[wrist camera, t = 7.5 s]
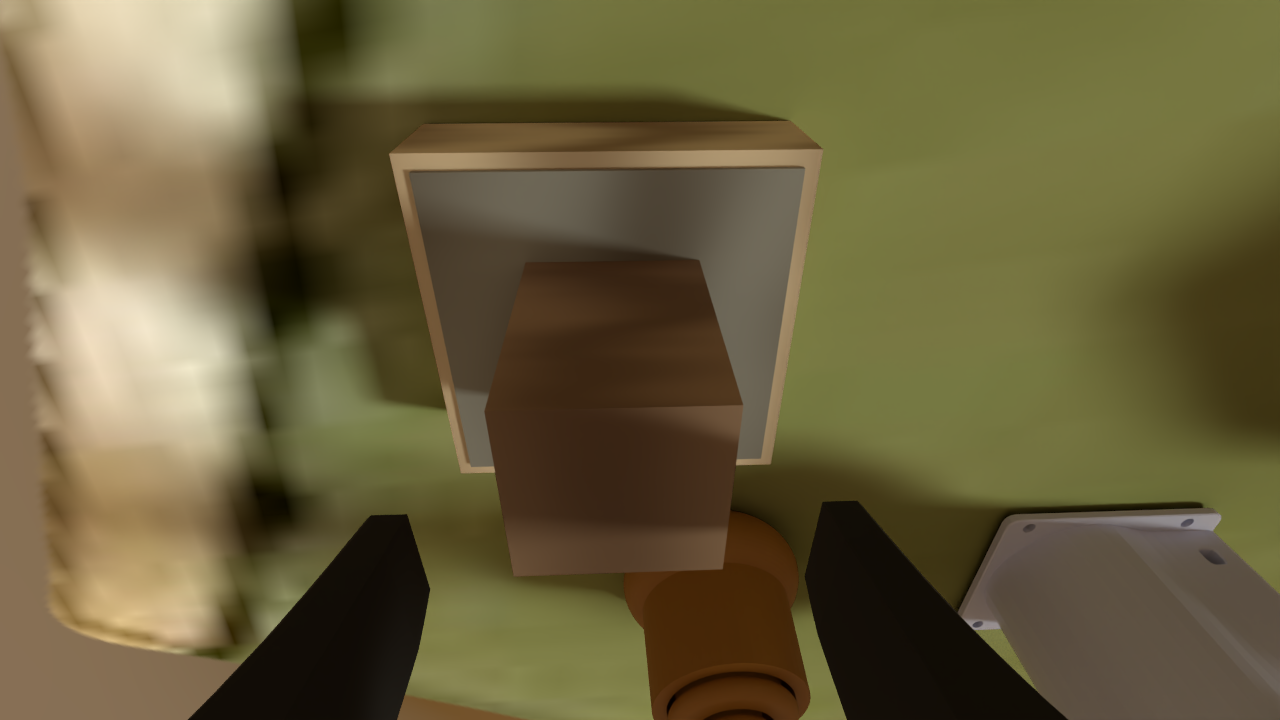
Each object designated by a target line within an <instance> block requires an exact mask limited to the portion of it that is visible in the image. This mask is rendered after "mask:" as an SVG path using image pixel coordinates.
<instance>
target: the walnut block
mask: <svg viewBox="0 0 1280 720" xmlns="http://www.w3.org/2000/svg"><path fill="white" fill-rule="evenodd" d="M484 413H485V418H486V424H487V430H488V435H489V441H490V446H491V452H492V458H493V463H494V469H495V474H496V480H497V486H498V491H499V497H500V502H501V508H502V514H503V519H504V525H505V530H506V536H507V542H508V547H509V553H510V558H511V564H512V570H513V575H514V576H541V575H570V574H600V573H629V572H658V571H687V570H717V569H723V563H724V555H725V547H726V539H727V531H728V523H729V515H730V508H731V500H732V492H733V484H734V476H735V468H736V460H737V452H738V444H739V436H740V428H741V421H742V413H743V402H742V399H741V396H740V392H739V389H738V386H737V382H736V379H735V376H734V373H733V369H732V366H731V363H730V359H729V356H728V353H727V349H726V346H725V343H724V340H723V336H722V333H721V330H720V326H719V323H718V320H717V317H716V313H715V310H714V307H713V303H712V300H711V297H710V293H709V290H708V287H707V284H706V280H705V277H704V274H703V270H702V267H701V264H700V261H699V260H665V261H595V262H525V266H524V270H523V273H522V277H521V281H520V284H519V288H518V291H517V295H516V299H515V302H514V306H513V309H512V313H511V317H510V320H509V324H508V327H507V331H506V335H505V338H504V342H503V345H502V349H501V353H500V356H499V360H498V364H497V367H496V371H495V374H494V378H493V382H492V385H491V389H490V392H489V396H488V400H487V403H486V407H485V410H484Z"/></svg>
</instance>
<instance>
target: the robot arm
mask: <svg viewBox="0 0 1280 720" xmlns="http://www.w3.org/2000/svg"><path fill="white" fill-rule="evenodd" d="M1220 520H1221V515H1220V514H1219V513H1218V512H1216V511H1215V510H1214V509H1213V508H1191V509H1161V510H1131V511H1101V512H1070V513H1040V514H1015V515H1011V516H1008V517H1007V518H1005V519H1004V520H1003V522H1002V524H1001V526H1000V528H999V530H998V532H997V534H996V536H995V538H994V540H993V542H992V544H991V546H990V548H989V550H988V552H987V554H986V556H985V558H984V560H983V562H982V564H981V566H980V568H979V570H978V572H977V574H976V576H975V578H974V580H973V582H972V584H971V586H970V588H969V590H968V592H967V594H966V596H965V598H964V600H963V602H962V605H961V607H960V609H959V611H958V613H957V612H956V611H955V610H954V609H953V608H952V607H951V605H950V604H949V603H948V602H947V601H946V600H945V599H944V598H943V597H942V596H941V595H940V594H939V593H938V592H937V591H936V589H935V588H934V587H933V586H932V585H931V584H930V583H929V582H928V581H927V580H926V579H925V577H924V576H923V575H922V574H921V573H920V572H919V571H918V570H917V569H916V567H915V566H914V565H913V564H912V563H911V562H910V561H909V559H908V558H907V557H906V556H905V555H904V554H903V553H902V551H901V550H900V549H899V548H898V547H897V546H896V545H895V543H894V542H893V541H892V540H891V539H890V538H889V537H888V535H887V534H886V533H885V532H884V531H883V530H882V528H881V527H880V526H879V525H878V524H877V523H876V521H875V520H874V519H873V518H872V517H871V516H870V514H869V513H868V512H867V511H866V510H865V509H864V507H863V506H862V505H861V504H860V503H859V502H858V501H834V502H823V503H822V507H821V511H820V515H819V519H818V523H817V528H816V532H815V536H814V540H813V544H812V548H811V552H810V556H809V561H808V565H807V569H806V573H805V580H806V584H807V589H808V594H809V599H810V603H811V608H812V612H813V616H814V621H815V625H816V629H817V633H818V637H819V640H820V643H821V646H822V649H823V652H824V655H825V657H826V660H827V663H828V666H829V669H830V672H831V675H832V678H833V681H834V684H835V687H836V690H837V692H838V695H839V698H840V701H841V704H842V707H843V710H844V713H845V715H846V718H847V720H1280V594H1279V593H1278V592H1277V591H1276V590H1275V589H1274V588H1273V587H1271V586H1270V585H1269V584H1268V583H1267V582H1266V581H1265V580H1264V579H1263V578H1262V577H1261V576H1260V575H1259V574H1258V573H1257V572H1256V571H1255V570H1253V569H1252V568H1251V567H1250V566H1249V565H1248V564H1247V563H1246V562H1245V561H1244V560H1243V559H1242V558H1241V557H1240V556H1239V555H1238V554H1236V553H1235V552H1234V551H1233V550H1232V549H1231V548H1230V547H1229V546H1228V545H1227V544H1226V543H1225V542H1224V541H1223V540H1222V539H1221V538H1219V537H1218V536H1217V535H1216V534H1215V533H1214V532H1213V530H1214V528H1215V527H1216V526H1217V525H1218V523H1219V522H1220ZM429 593H430V587H429V584H428V581H427V577H426V574H425V571H424V568H423V565H422V561H421V558H420V555H419V552H418V548H417V545H416V542H415V539H414V535H413V532H412V529H411V526H410V523H409V519H408V516H407V514H404V515H371V516H370V517H369V518H368V519H367V520H366V521H365V522H364V523H363V525H362V526H361V527H360V528H359V529H358V531H357V532H356V533H355V534H354V535H353V537H352V538H351V539H350V540H349V541H348V543H347V544H346V545H345V546H344V548H343V549H342V550H341V551H340V552H339V554H338V555H337V556H336V557H335V558H334V560H333V561H332V562H331V563H330V564H329V566H328V567H327V568H326V569H325V570H324V572H323V573H322V574H321V575H320V576H319V578H318V579H317V580H316V581H315V582H314V584H313V585H312V586H311V587H310V588H309V589H308V591H307V592H306V593H305V594H304V595H303V596H302V598H301V599H300V600H299V601H298V602H297V603H296V604H295V606H294V607H293V608H292V609H291V610H290V611H289V612H288V614H287V615H286V616H285V617H284V618H283V619H282V620H281V622H280V623H279V624H278V625H277V626H276V627H275V628H274V630H273V631H272V632H271V633H270V634H269V635H268V636H267V637H266V639H265V640H264V641H263V642H262V643H261V644H260V645H259V646H258V647H257V648H256V649H255V650H254V652H253V653H252V654H251V655H250V656H249V657H248V658H247V659H246V660H245V661H244V662H243V663H242V664H241V665H240V666H239V667H238V669H237V670H236V671H235V672H234V673H233V674H232V675H231V676H230V677H229V678H228V679H227V680H226V681H225V682H224V684H222V686H221V687H220V688H219V689H218V690H217V691H216V692H215V693H214V694H213V695H212V696H211V697H210V698H209V699H208V700H207V701H206V702H205V703H204V704H203V705H202V706H201V707H200V708H199V709H198V710H197V711H196V712H195V713H194V714H193V715H192V716H191V717H190V718H189V719H188V720H397V718H398V714H399V711H400V708H401V705H402V702H403V699H404V695H405V692H406V689H407V686H408V683H409V679H410V676H411V673H412V670H413V666H414V663H415V660H416V656H417V653H418V650H419V645H420V640H421V635H422V630H423V625H424V620H425V615H426V609H427V604H428V598H429ZM984 629H1001V630H1002V631H1003V633H1004V635H1005V636H1006V638H1007V640H1008V641H1009V643H1010V645H1011V647H1012V648H1013V650H1014V652H1015V653H1016V655H1017V657H1018V658H1019V660H1020V662H1021V664H1022V665H1023V667H1024V669H1025V670H1026V672H1027V674H1028V675H1029V677H1030V679H1031V681H1032V682H1033V684H1034V686H1035V687H1036V689H1037V691H1038V692H1039V693H1038V692H1037V691H1036V690H1035V689H1034V688H1033V687H1032V686H1031V685H1030V684H1028V683H1027V682H1026V681H1025V680H1024V679H1023V678H1022V677H1021V676H1020V675H1019V674H1018V673H1017V672H1016V671H1015V670H1014V669H1013V668H1012V667H1011V666H1010V665H1009V664H1007V663H1006V662H1005V661H1004V660H1003V659H1002V658H1001V657H1000V656H999V655H998V654H997V653H996V652H995V651H994V650H993V649H992V648H991V647H990V646H989V645H988V644H987V643H986V642H985V641H984V640H983V639H982V638H981V637H980V636H979V635H978V634H977V633H976V632H975V631H974V630H984Z"/></svg>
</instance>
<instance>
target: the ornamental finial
mask: <svg viewBox="0 0 1280 720" xmlns="http://www.w3.org/2000/svg"><path fill="white" fill-rule="evenodd" d="M798 583H799V574H798V567H797V562H796V559H795V556H794V554H793V552H792V550H791V548H790V546H789V545H788V543H787V542H786V541H785V539H784V538H783V537H782V536H781V535H780V534H779V533H778V532H777V531H776V530H775V529H774V528H773V527H771V526H770V525H768V524H767V523H765V522H764V521H762V520H760V519H758V518H756V517H753V516H751V515H748V514H745V513H741V512H737V511H731V510H730V515H729V523H728V531H727V539H726V547H725V555H724V563H723V569H717V570H687V571H658V572H629V573H625V574H624V593H625V598H626V602H627V605H628V607H629V610H630V611H631V613H632V615H633V617H634V618H635V620H636V621H637V622H638V623H639V625H640V626H641V627H642V628H643V629H644V634H645V644H646V655H647V665H648V676H649V686H650V696H651V707H652V715H653V719H654V720H798V719H799V718H800V717H801V716H802V715H803V714H804V713H805V711H806V710H807V708H808V706H809V703H810V690H809V686H808V682H807V678H806V673H805V669H804V665H803V661H802V656H801V652H800V648H799V644H798V639H797V635H796V631H795V626H794V622H793V618H792V614H791V607H792V605H793V603H794V601H795V598H796V594H797V590H798Z"/></svg>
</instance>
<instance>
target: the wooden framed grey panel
mask: <svg viewBox="0 0 1280 720" xmlns="http://www.w3.org/2000/svg"><path fill="white" fill-rule="evenodd" d="M822 154H823V149H822V148H821V147H820V146H819V145H818V144H817V143H815V142H814V141H813V140H812V139H811V138H810V137H809V136H807V135H806V134H805V133H804V132H803V131H802V130H801V129H799V128H798V127H797V126H796V125H795V124H794V123H793V122H791V121H715V122H591V123H468V124H422V125H421V126H420V127H419V128H418V129H417V130H416V131H414V132H413V133H412V134H411V135H410V136H409V137H407V138H406V139H405V140H404V141H403V142H402V143H401V144H399V145H398V146H397V147H396V148H395V149H394V150H393V151H391V152H390V153H389V155H390V160H391V164H392V169H393V173H394V178H395V182H396V186H397V191H398V195H399V200H400V204H401V209H402V213H403V217H404V222H405V226H406V231H407V235H408V240H409V244H410V249H411V253H412V257H413V262H414V266H415V271H416V275H417V280H418V284H419V288H420V293H421V297H422V302H423V306H424V311H425V315H426V319H427V324H428V328H429V333H430V337H431V342H432V346H433V351H434V355H435V359H436V364H437V368H438V373H439V377H440V382H441V386H442V390H443V395H444V399H445V404H446V408H447V413H448V417H449V421H450V426H451V430H452V435H453V439H454V444H455V448H456V452H457V457H458V461H459V466H460V470H461V473H490V472H495V469H494V463H493V458H492V452H491V446H490V441H489V435H488V430H487V424H486V418H485V413H484V410H485V407H486V403H487V400H488V396H489V392H490V389H491V385H492V382H493V378H494V374H495V371H496V367H497V364H498V360H499V356H500V353H501V349H502V345H503V342H504V338H505V335H506V331H507V327H508V324H509V320H510V317H511V313H512V309H513V306H514V302H515V299H516V295H517V291H518V288H519V284H520V281H521V277H522V273H523V270H524V266H525V262H595V261H665V260H699V261H700V264H701V267H702V270H703V274H704V277H705V280H706V284H707V287H708V290H709V293H710V297H711V300H712V303H713V307H714V310H715V313H716V317H717V320H718V323H719V326H720V330H721V333H722V336H723V340H724V343H725V346H726V349H727V353H728V356H729V359H730V363H731V366H732V369H733V373H734V376H735V379H736V382H737V386H738V389H739V392H740V396H741V399H742V402H743V413H742V421H741V428H740V436H739V444H738V452H737V460H736V465H761V464H771V460H772V454H773V448H774V442H775V436H776V430H777V424H778V418H779V412H780V406H781V400H782V394H783V388H784V382H785V376H786V370H787V364H788V358H789V352H790V346H791V340H792V334H793V328H794V322H795V316H796V310H797V304H798V298H799V292H800V286H801V280H802V274H803V268H804V262H805V256H806V250H807V244H808V238H809V232H810V226H811V220H812V214H813V208H814V202H815V196H816V190H817V184H818V178H819V172H820V166H821V160H822Z"/></svg>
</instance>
